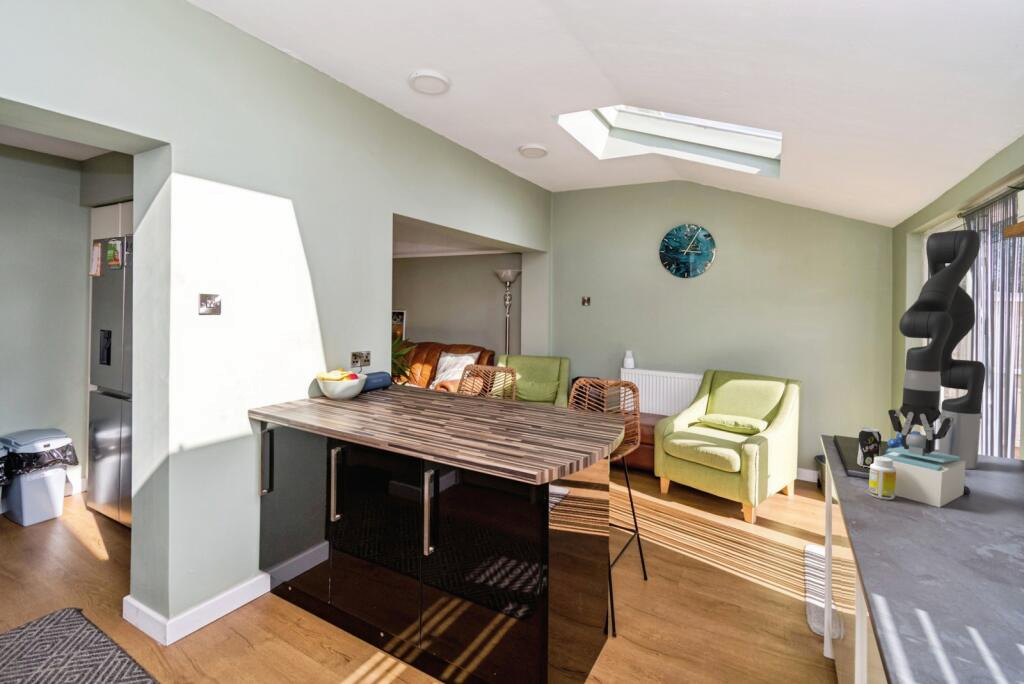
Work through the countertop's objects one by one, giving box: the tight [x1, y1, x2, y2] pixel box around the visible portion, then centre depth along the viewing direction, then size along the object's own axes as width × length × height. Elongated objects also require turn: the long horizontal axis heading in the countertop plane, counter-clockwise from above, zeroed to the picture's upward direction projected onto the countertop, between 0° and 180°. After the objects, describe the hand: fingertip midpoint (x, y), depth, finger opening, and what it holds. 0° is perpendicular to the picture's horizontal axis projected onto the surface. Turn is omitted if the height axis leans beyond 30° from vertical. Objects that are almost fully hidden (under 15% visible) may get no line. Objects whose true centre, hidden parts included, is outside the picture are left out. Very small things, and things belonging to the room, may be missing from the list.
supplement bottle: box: [868, 455, 896, 501], centre depth 130 cm, size 6×6×10 cm
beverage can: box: [856, 427, 882, 469], centre depth 154 cm, size 6×6×12 cm
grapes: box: [885, 430, 935, 455], centre depth 153 cm, size 12×7×12 cm, turn 44°
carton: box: [880, 452, 966, 508], centre depth 133 cm, size 16×14×10 cm
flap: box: [887, 433, 961, 463], centre depth 134 cm, size 12×12×6 cm
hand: (917, 450), depth 131 cm, fingers closed on flap, 4 cm apart
